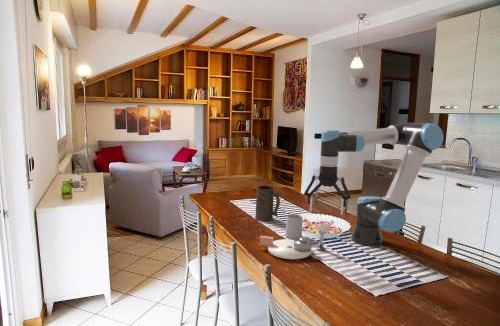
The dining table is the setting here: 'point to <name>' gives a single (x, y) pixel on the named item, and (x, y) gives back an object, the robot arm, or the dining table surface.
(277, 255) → the turntable
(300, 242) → the cover
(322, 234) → the dial post
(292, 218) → the mug
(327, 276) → the dining table surface
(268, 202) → the beer stein
